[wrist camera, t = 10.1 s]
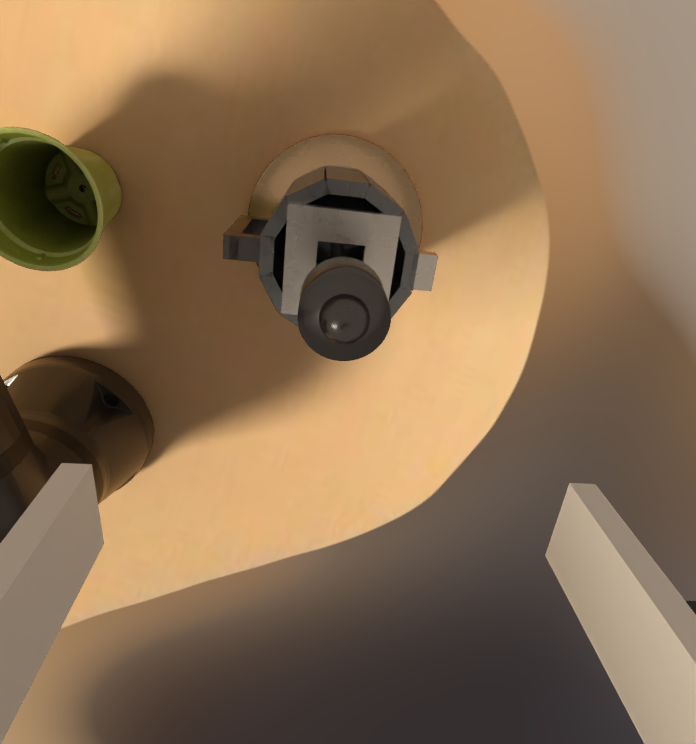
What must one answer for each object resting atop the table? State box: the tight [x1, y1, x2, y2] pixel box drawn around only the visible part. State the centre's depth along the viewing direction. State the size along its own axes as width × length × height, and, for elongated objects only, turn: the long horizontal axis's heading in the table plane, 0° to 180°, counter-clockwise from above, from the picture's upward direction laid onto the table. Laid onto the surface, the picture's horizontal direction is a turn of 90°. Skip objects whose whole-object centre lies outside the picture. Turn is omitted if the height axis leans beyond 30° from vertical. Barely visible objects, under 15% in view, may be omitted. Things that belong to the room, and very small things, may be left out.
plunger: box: [297, 194, 391, 361], centre depth 33 cm, size 7×7×21 cm
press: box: [223, 134, 438, 327], centre depth 39 cm, size 15×15×13 cm
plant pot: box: [0, 127, 122, 271], centre depth 39 cm, size 9×9×9 cm
